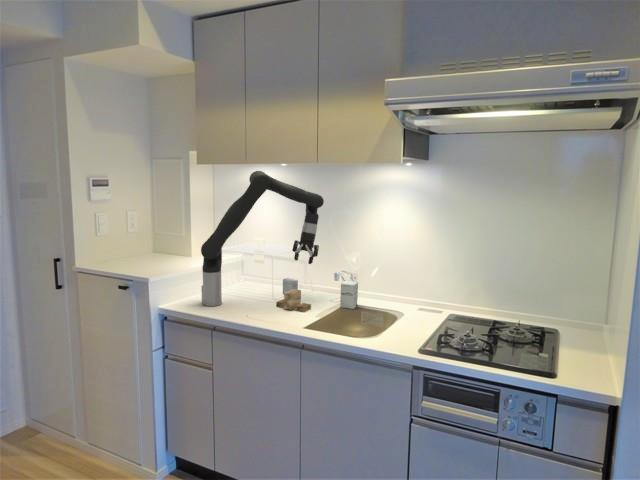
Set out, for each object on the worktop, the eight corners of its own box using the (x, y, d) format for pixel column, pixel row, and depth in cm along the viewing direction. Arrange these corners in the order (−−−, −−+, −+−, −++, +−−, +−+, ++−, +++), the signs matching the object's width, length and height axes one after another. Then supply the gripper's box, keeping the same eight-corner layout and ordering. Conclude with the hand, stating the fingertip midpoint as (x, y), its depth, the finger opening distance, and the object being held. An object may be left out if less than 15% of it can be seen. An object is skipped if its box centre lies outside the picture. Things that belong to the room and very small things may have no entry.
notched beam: (276, 306, 236) (276, 301, 235) (283, 303, 241) (283, 299, 240) (304, 312, 227) (304, 307, 226) (310, 309, 232) (310, 304, 231)
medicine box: (298, 295, 258) (298, 279, 257) (292, 296, 255) (292, 281, 253) (288, 292, 263) (288, 277, 262) (282, 294, 260) (282, 278, 258)
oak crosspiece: (284, 308, 230) (284, 292, 229) (294, 304, 238) (294, 289, 237) (290, 309, 228) (290, 294, 227) (300, 305, 236) (300, 290, 235)
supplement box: (339, 307, 235) (340, 283, 234) (344, 303, 242) (344, 280, 240) (353, 309, 233) (354, 284, 231) (357, 305, 240) (358, 281, 238)
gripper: (293, 228, 243) (287, 259, 244) (317, 233, 237) (310, 265, 237) (301, 230, 250) (295, 259, 250) (323, 234, 243) (317, 265, 244)
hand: (302, 262), depth 244 cm, fingers open, 8 cm apart
